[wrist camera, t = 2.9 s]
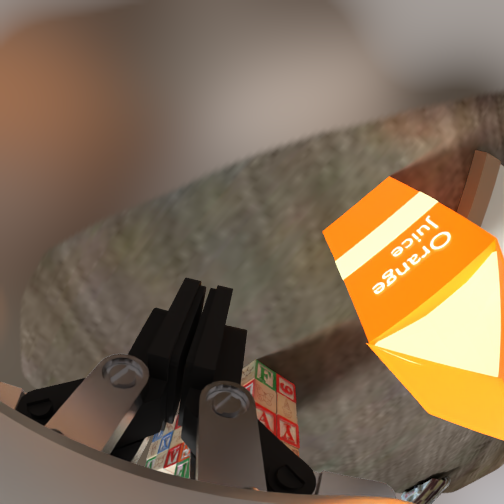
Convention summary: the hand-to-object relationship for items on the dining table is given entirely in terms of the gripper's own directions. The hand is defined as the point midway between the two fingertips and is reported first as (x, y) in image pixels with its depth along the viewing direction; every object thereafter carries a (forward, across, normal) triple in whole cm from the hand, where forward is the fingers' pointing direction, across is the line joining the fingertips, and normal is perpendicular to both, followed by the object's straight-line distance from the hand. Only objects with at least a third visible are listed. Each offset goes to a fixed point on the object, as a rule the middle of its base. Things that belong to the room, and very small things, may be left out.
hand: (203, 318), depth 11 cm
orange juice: (+16, -13, 0) cm, 21 cm away
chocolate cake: (+18, -53, +47) cm, 73 cm away
